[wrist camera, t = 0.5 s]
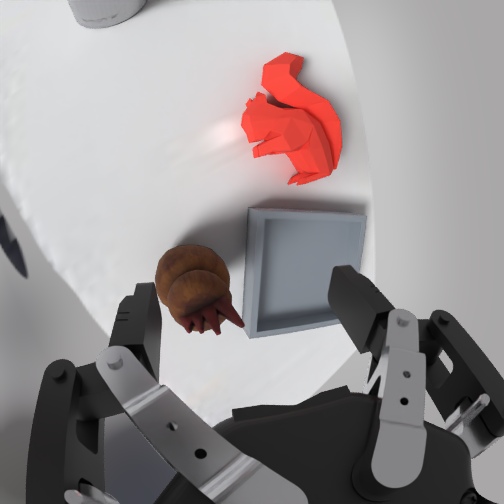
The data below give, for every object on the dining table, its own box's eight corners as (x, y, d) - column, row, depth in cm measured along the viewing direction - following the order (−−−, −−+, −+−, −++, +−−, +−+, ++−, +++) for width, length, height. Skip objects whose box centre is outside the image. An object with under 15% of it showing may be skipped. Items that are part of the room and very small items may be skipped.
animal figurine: (299, 57, 27) (320, 42, 23) (336, 164, 33) (363, 163, 28) (212, 72, 25) (223, 53, 20) (256, 194, 30) (275, 196, 25)
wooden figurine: (216, 236, 30) (270, 288, 16) (217, 286, 31) (266, 366, 17) (153, 241, 27) (151, 301, 14) (158, 292, 29) (165, 382, 15)
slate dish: (248, 207, 30) (257, 210, 27) (352, 212, 35) (366, 216, 32) (241, 326, 34) (249, 338, 31) (337, 312, 38) (349, 321, 36)
